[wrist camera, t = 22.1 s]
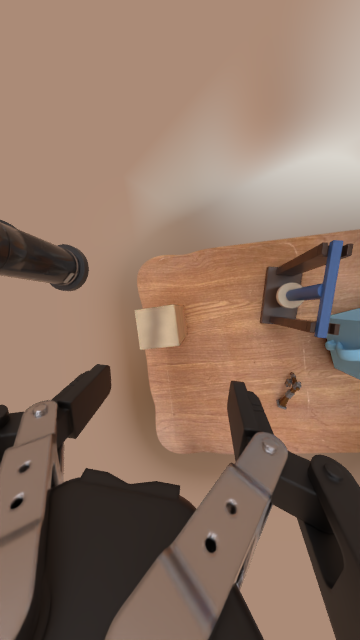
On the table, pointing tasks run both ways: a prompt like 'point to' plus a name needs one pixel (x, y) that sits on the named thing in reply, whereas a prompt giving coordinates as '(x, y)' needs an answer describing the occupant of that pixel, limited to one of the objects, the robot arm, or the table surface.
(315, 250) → the stand
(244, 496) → the robot arm
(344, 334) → the teapot
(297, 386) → the hanging lantern post
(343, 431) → the table surface
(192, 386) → the table surface
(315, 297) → the bar
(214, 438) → the table surface
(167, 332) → the riser
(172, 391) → the table surface
